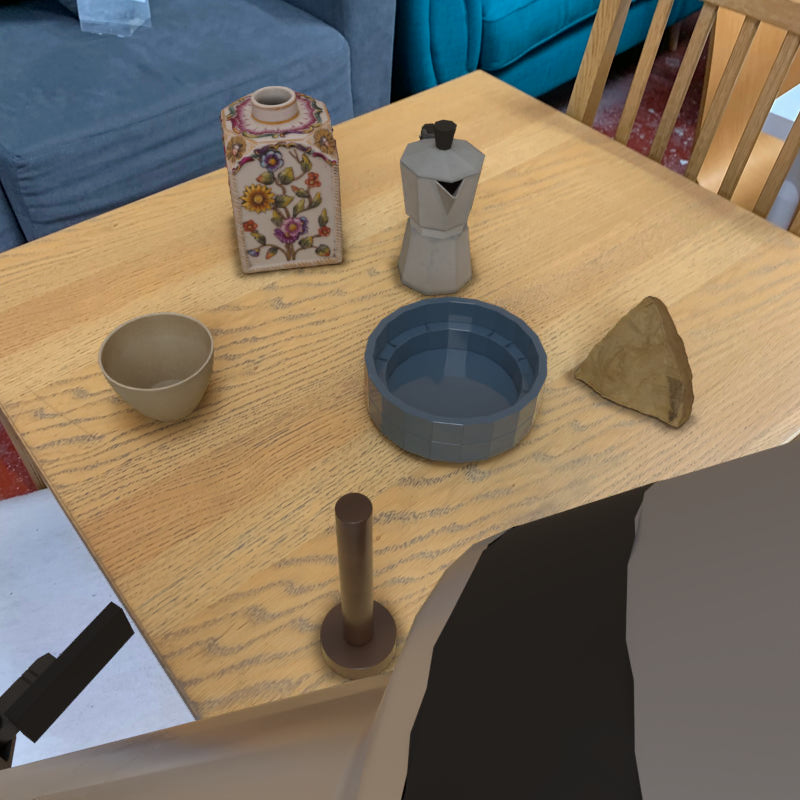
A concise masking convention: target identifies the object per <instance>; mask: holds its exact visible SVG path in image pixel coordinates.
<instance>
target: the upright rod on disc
mask: <svg viewBox="0 0 800 800" xmlns="http://www.w3.org/2000/svg"><path fill="white" fill-rule="evenodd" d="M334 517H335V534H336V548H337V558H338V559H337V560H338V562H337V563H338V576H339V590H340V591H339V592H340V602H339V603H337V604H335V605H334V606H333V607H332V608H331V609H330V610H329V611H328V612H327V613H326V615H325V616H324V618H323V621H321V626H320V632H319V638H320V639H319V640H320V646H321V647H320V648H321V653H322V656H323V659H324V661H325V663H326V664H327V665H328V667H329V668H330V670H332V671H333V672H335V674H337V675H339V676H341V677H343V678H346V679H349V680H358V679H362V678H366V677H370V676H374V675H378V674H381V672H382V673H383V671H384V670H385V669H386V668H387V667H388V666H390V664H391V662H392V660H393V658H394V656H395V654H396V650H397V638H398V637H397V636H398V635H397V633H398V632H397V631H398V629H397V625H396V622H395V618H394V617H393V615H392V613H391V612H390V611H389V610H388V608H387V607H385V606H384V605H383V604H381V603H380V602H378V601H376V600H374V507H373V503H372V501H371V500H370V498H369V497H368V496H367V495H365V494H363V493H361V492H348V493H345V494H343V495H341V496H340V497H339V498H338V499H337V501H336V503H335V505H334Z"/></svg>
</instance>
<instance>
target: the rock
mask: <svg viewBox="0 0 800 800" xmlns="http://www.w3.org/2000/svg"><path fill="white" fill-rule="evenodd" d="M688 356H689V355H688V354H687V350H686V347H685V342H684V340H683V338H682V336H681V335H680V334H679V333H678V330H677V326H676V324H675V321H674V320H673V317H672V316H671V314H670V311H669V309H668V307H667V305H666V304H665V303H664V302H663V300H661V298H658V297H656V296H653V295H648V296H645V297H644V298H642V300H641V301H640V302H639V303H638V304H637V305H635V306H634V307H632V308H631V309H629V311H628V312H627V313H626V314H625V315H624V316H622V317H621V318H620V319H619V320H618V321H617V322H616V324H615V325H614V326H613V327H612V328H611V329H610V330H609V331H608V332H607V333H606V334H605V336H604V337H602V339H601V340H599V342H597V343H596V344H595V345H594V346H593V347H592V348H591V350H590V352H589V353H588V355H587V357H586V358H585V360H583V361H582V362H581V364H580V365H579V367H578V368H577V370H576V371H575V372H574V378H575V379H577V380H581V381H582V382H584V383H585V384H586V385H588V386H589V387H591V388H592V389H593V390H594V391H595V392H596V393H598V394H599V395H600V396H601V397H602V398H604V399H608V400H609V401H612V402H613V403H615V404H617V405H619V406H624V407H626V408H628V409H633V410H635V411H638V412H639V413H641V414H644V415H648V416H652V417H656V418H657V419H658V420H660V421H661V422H664V423H666V424H667V425H669V426H672V427H675V428H680V426H682V425H683V424H684V423H686V422H687V421H688V420H689V418H691V413H692V411H693V404H694V402H695V394H694V389H693V387H694V386H693V378H694V377H693V372H692V368H691V366H690V363H689V357H688Z"/></svg>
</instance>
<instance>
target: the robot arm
mask: <svg viewBox="0 0 800 800" xmlns="http://www.w3.org/2000/svg"><path fill="white" fill-rule="evenodd" d="M134 635H135V630H134V629H133V627H132V624H131V622H130V621H129V618H128V617H127V615H126V613H125V611H124V609H123V608H122V607H121V606H120V605H118V604H116V603H115V602H114V601H110V602H109V603H108V604H107V605H106V606H105V607H104V608H103V609H102V610H101V611H100V612H99V613H98V614H97V615H96V617H94V619H93V620H92V621H91V622H90V623H89V624H88V625H86V627H85V628H84V629H83V630H82V631H81V632H80V633H79V634H78V635H77V636H76V637H75V638H74V639H73V640H72V642H71V643H69V644H68V646H67V647H66V648H65V649H64V650H63V651H62V652H61V653H60V654H59V655H58V656H57V657H55V656H54V655H53V654H51V653H50V652H46V653H45V654H43V655H41V656H39V657H38V658H36V659H35V660H34V661H33V662H32V663H31V664H30V666H28V668H27V669H25V670H24V671H23V673H22V674H21V675H20V676H19V677H18V678H16V680H15V681H14V682H13V683H12V684H11V685H10V686H9V687H8V688H7V689H6V690H5V691H4V692H3V694H1V696H0V800H800V439H796V440H793V441H790V442H787V443H783V444H780V445H776V446H773V447H770V448H767V449H763V450H759V451H757V452H753V453H749V454H747V455H743V456H740V457H736V458H733V459H730V460H726V461H723V462H720V463H717V464H714V465H710V466H706V467H703V468H700V469H697V470H694V471H690V472H687V473H684V474H679V475H676V476H673V477H670V478H666V479H661V480H656V481H653V482H650V483H647V484H643V485H641V486H637V487H635V488H631V489H627V490H625V491H621V492H619V493H616V494H613V495H610V496H607V497H603V498H601V499H597V500H594V501H591V502H588V503H585V504H582V505H578V506H576V507H572V508H569V509H566V510H563V511H560V512H556V513H554V514H551V515H548V516H544V517H541V518H538V519H535V520H532V521H529V522H525V523H523V524H519V525H515V526H511V527H509V528H507V529H504V530H502V531H500V532H498V533H495V534H493V535H491V536H488V537H486V538H484V539H482V540H479V541H477V542H475V543H473V544H471V545H470V547H469V548H467V549H466V550H465V551H464V552H463V553H462V554H461V555H460V556H458V558H456V560H455V561H453V562H452V563H451V564H450V565H449V566H447V568H446V569H445V570H444V571H443V573H442V575H441V576H440V578H439V579H438V581H437V582H436V584H435V585H434V587H433V588H432V590H431V591H430V593H429V594H428V596H427V597H426V598H425V601H424V602H423V604H422V605H421V607H420V608H419V609H418V611H417V612H416V614H415V617H414V618H413V622H412V624H411V625H410V629H409V631H408V634H407V636H406V638H405V640H404V643H403V646H402V648H401V650H400V653H399V654H398V655H399V656H398V658H397V660H396V663H395V664H394V667H393V670H389V671H386V672H382V673H379V674H377V675H374V676H370V677H366V678H362V679H353V680H350V681H346V682H342V683H338V684H335V685H331V686H327V687H323V688H319V689H315V690H312V691H311V690H310V691H307V692H303V693H300V694H299V693H298V694H296V695H295V694H294V695H290V696H287V697H284V698H280V699H276V700H272V701H271V700H270V701H268V702H264V703H260V704H257V705H256V704H255V705H251V706H248V707H243V708H240V709H237V710H232V711H229V712H228V711H227V712H224V713H220V714H217V715H213V716H209V717H204V718H201V719H196V720H192V721H189V722H185V723H181V724H176V725H174V726H169V727H165V728H162V729H157V730H153V731H151V732H146V733H145V732H144V733H142V734H138V735H134V736H130V737H126V738H121V739H118V740H114V741H110V742H106V743H103V744H98V745H94V746H91V747H87V748H86V747H85V748H82V749H78V750H75V751H71V752H67V753H62V754H59V755H55V756H51V757H47V758H43V759H39V760H35V761H31V762H28V763H23V764H19V765H16V766H15V765H14V766H13V760H14V754H15V750H16V749H15V748H16V743H17V735H18V733H22V735H23V736H25V738H27V739H28V740H30V741H31V742H32V743H33V744H36V743H38V741H39V740H40V739H41V737H43V736H44V734H46V732H47V731H48V730H49V729H50V727H52V726H53V724H54V723H55V722H56V721H57V720H58V719H59V718H60V717H61V716H62V714H63V713H64V712H65V711H66V710H67V708H69V707H70V705H72V703H74V701H75V700H76V699H77V698H78V697H79V696H80V694H81V693H83V691H84V690H85V689H86V688H87V687H88V685H89V684H90V683H92V681H93V680H94V679H95V678H96V677H97V676H98V675H99V673H100V672H101V671H102V670H103V669H104V668H106V666H107V664H109V662H110V661H111V660H112V659H114V657H115V656H116V655H117V654H118V653H119V651H121V649H122V648H123V647H124V646H125V645H126V644H127V643H128V641H130V640H131V638H132V637H133V636H134Z"/></svg>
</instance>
